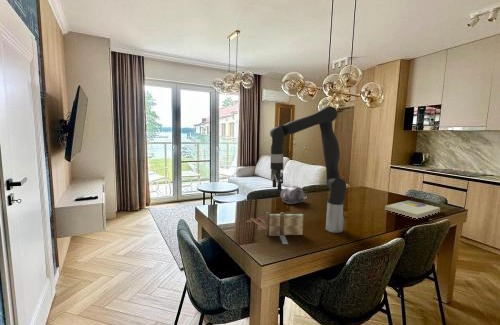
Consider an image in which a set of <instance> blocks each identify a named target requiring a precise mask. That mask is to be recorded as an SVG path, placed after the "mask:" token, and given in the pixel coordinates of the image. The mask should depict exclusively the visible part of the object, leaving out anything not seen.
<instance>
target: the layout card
mask: <svg viewBox="0 0 500 325" xmlns="http://www.w3.org/2000/svg"><path fill="white" fill-rule="evenodd" d="M274 236H275V237H279V238H280V241H281V243H282V245H289V242H288V240H287V237H286V235H268V237H274Z"/></svg>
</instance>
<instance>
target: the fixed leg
mask: <svg viewBox="0 0 500 325" xmlns="http://www.w3.org/2000/svg"><path fill="white" fill-rule="evenodd" d="M284 214H285V212H283V211H281V212H280V213H270V212H269V211H268V212H265V218H266V220H265V221H266V224H265V227H266V230H265V236H269V235H284ZM284 236H285V235H284Z"/></svg>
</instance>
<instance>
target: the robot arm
mask: <svg viewBox="0 0 500 325" xmlns="http://www.w3.org/2000/svg"><path fill="white" fill-rule="evenodd" d="M337 117H338V110H337V109H336V108H335V107H334V106H330V105H329V106H325V107H321V108H320V109H319V110H318V111H317V112H316V113H314V114H311V115H308V116H307V115H306V116H303V117H301V118H297V119H294V120H292V121H289V122H287V123H285V124H282V125H281V124H280V125H278V126H276V127H275V126H274V127H273V128H271V130H270V131H269V132H270V133H269V134H270V137H271V145H270V158H269V159H270V180H271V181H272V188H276V190H277V191H282V185H283V184H284V173H283V172H282V171H283V170H284V140H285V137H286V136H289V135H294V134H296V133H299V132H301V131H304V130H307V129H309V128H311V127H314V126H317V125H319V128H320V134H321V143H322V144H321V145H322V151H323V158H324V164H325V169H326V170H325V171H326V186H327V188H328V189H329V190H330V195H329V196H328V197H327V201H326V203H327V204H326V217H325V218H326V219H325V230H326V231H328V232H330V233H335V234H337V233H338V234H339V233H342V232H343V231H344V219H345V217H344V215H343V213H344V212H343V211H344V202H345V200H346V196H347V195H346V193H347V182H346V180H345V179H343V178H342V177H340V174H339V173H340V172H339V162H340V158H341V152H340V145H339V140H338V138H337V136H336V134H335V132H334V129H333V122H334V121H335V120H336V119H337Z"/></svg>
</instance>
